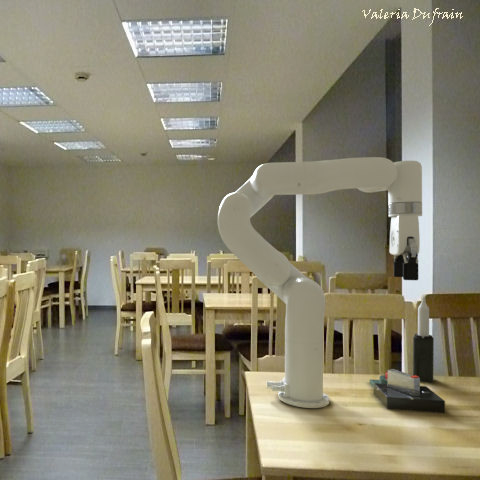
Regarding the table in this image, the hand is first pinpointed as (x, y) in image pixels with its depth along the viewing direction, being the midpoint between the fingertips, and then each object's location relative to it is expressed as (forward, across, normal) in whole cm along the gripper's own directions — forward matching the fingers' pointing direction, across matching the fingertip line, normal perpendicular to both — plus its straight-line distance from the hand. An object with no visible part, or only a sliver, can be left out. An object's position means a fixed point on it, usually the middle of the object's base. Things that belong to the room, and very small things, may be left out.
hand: (405, 278), depth 111 cm
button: (+30, -13, 0) cm, 32 cm away
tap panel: (+32, -2, +1) cm, 32 cm away
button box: (+32, -13, 0) cm, 35 cm away
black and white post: (+33, -26, +10) cm, 43 cm away
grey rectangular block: (+29, -2, 0) cm, 29 cm away
